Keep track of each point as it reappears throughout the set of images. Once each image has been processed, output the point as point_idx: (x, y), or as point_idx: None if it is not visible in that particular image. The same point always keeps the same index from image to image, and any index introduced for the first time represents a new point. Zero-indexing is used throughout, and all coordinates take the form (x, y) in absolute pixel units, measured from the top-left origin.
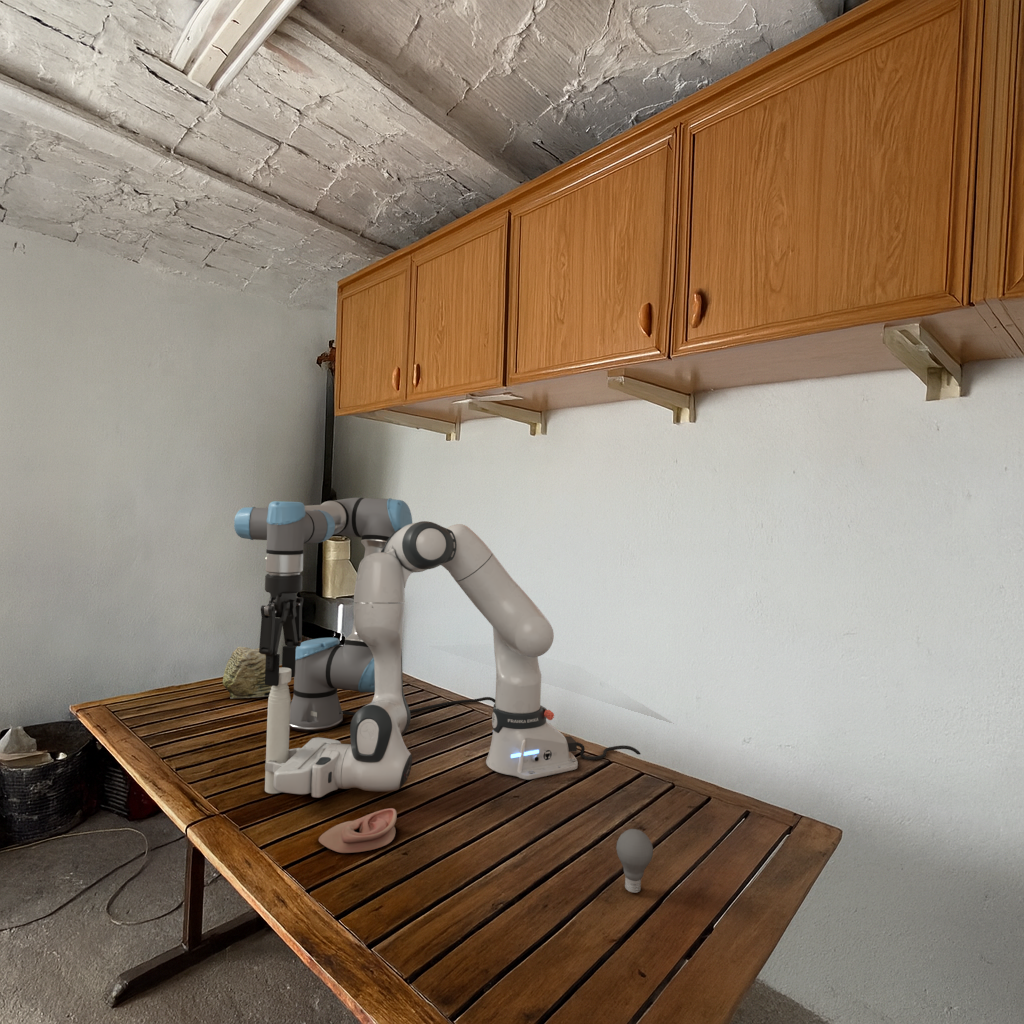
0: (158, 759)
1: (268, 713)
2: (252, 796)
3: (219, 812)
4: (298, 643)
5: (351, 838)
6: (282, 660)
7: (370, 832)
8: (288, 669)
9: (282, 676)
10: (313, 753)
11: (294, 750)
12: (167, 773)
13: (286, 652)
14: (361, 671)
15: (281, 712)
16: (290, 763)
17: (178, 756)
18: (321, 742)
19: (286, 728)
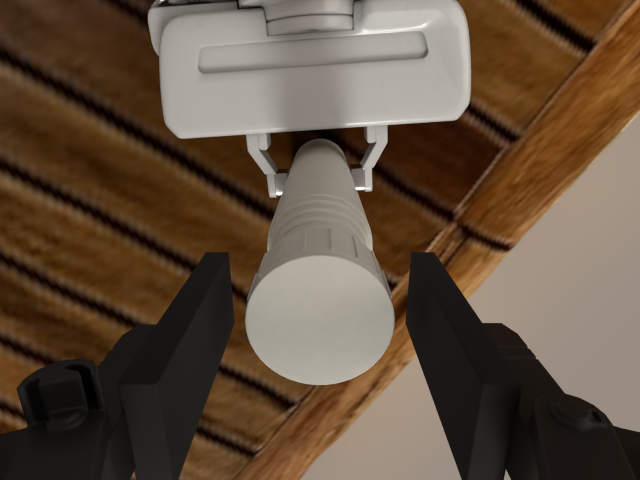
0: (260, 458)
1: None
2: (368, 197)
3: (450, 223)
4: (59, 396)
5: None
6: (209, 388)
7: None
8: (287, 282)
9: (374, 268)
10: (298, 67)
11: (264, 156)
12: (312, 410)
13: (187, 411)
14: None
15: (355, 199)
16: (393, 101)
17: (235, 437)
18: (203, 85)
19: (331, 169)
